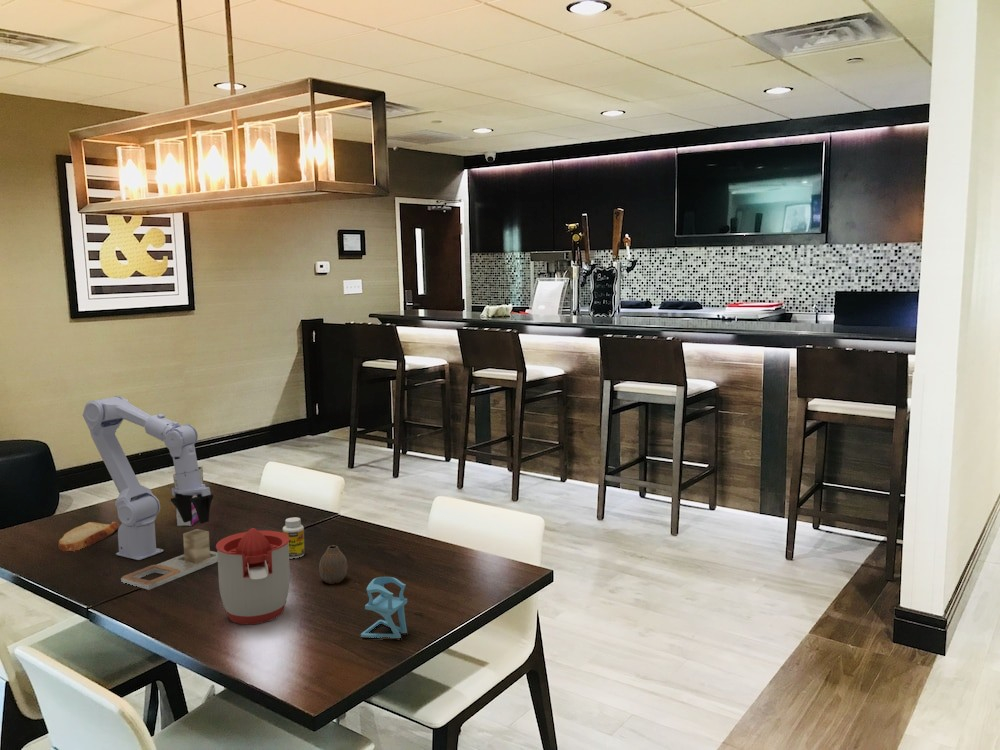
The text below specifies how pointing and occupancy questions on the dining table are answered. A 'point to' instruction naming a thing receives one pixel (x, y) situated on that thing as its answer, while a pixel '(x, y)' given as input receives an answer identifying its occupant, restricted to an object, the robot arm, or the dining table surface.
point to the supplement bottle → (295, 537)
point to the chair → (386, 607)
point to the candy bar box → (194, 513)
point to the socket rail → (167, 571)
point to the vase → (333, 565)
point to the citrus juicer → (254, 575)
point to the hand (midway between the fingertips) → (196, 521)
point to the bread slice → (86, 535)
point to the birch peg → (196, 546)
